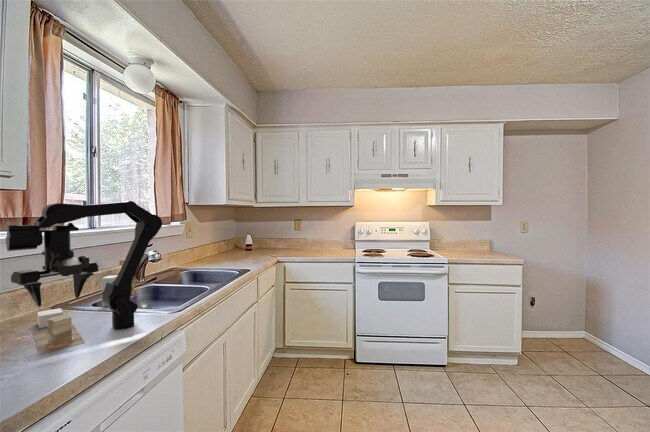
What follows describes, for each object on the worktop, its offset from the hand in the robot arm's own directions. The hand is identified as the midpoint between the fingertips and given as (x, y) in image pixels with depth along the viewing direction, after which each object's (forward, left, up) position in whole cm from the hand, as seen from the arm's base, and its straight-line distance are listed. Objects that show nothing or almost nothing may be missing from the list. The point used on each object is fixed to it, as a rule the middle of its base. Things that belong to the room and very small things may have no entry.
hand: (59, 301), depth 92 cm
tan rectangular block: (0, 0, -12) cm, 12 cm away
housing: (+21, -7, -13) cm, 26 cm away
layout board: (+5, -2, -13) cm, 14 cm away
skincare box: (+26, -30, -13) cm, 42 cm away
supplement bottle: (+32, -40, -13) cm, 53 cm away
